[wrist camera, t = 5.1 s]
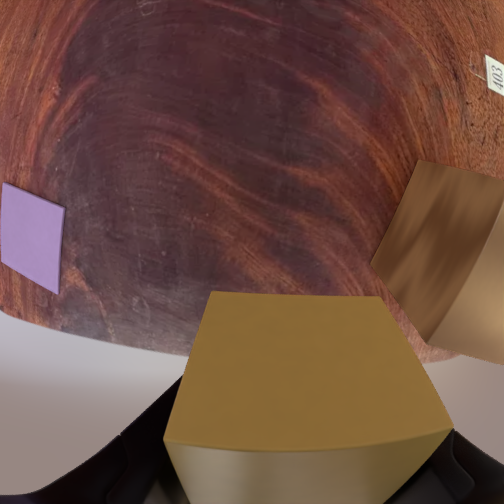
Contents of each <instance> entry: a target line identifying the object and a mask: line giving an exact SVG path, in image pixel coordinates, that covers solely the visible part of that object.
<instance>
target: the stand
mask: <svg viewBox="0 0 504 504" xmlns="http://www.w3.org/2000/svg"><path fill="white" fill-rule="evenodd" d="M370 265H371V267H372V268H373V269H374V271H375V272H376V273H377V275H378V276H379V277H380V279H381V280H382V281H383V283H384V284H385V285H386V287H387V288H388V290H389V291H390V292H391V294H392V295H393V296H394V298H395V299H396V301H397V302H398V304H399V305H400V306H401V308H402V309H403V311H404V312H405V314H406V315H407V316H408V318H409V319H410V321H411V322H412V324H413V325H414V327H415V328H416V330H417V331H418V333H419V334H420V336H421V337H422V339H423V340H424V342H425V343H426V344H427V345H430V346H434V347H437V348H441V349H444V350H448V351H451V352H455V353H458V354H462V355H466V356H469V357H473V358H477V359H481V360H484V361H488V362H492V363H496V364H500V365H504V180H501V179H498V178H494V177H491V176H487V175H484V174H480V173H476V172H472V171H468V170H464V169H460V168H456V167H452V166H447V165H443V164H438V163H433V162H428V161H423V160H418V161H417V164H416V166H415V169H414V171H413V174H412V176H411V178H410V181H409V183H408V185H407V188H406V190H405V192H404V195H403V197H402V199H401V201H400V204H399V206H398V208H397V210H396V212H395V214H394V217H393V219H392V221H391V223H390V225H389V227H388V229H387V231H386V233H385V235H384V237H383V239H382V241H381V243H380V245H379V247H378V249H377V251H376V253H375V255H374V257H373V259H372V261H371V262H370Z"/></svg>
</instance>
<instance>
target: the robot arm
mask: <svg viewBox="0 0 504 504" xmlns="http://www.w3.org/2000/svg"><path fill="white" fill-rule="evenodd" d="M182 377H183V375H182V376H181V377H180V378H179V379H178V380H177V381H176V382H175V383H174V384H173V385H172V386H171V387H170V388H169V389H168V390H166V391H165V392H164V394H162V395H161V396H160V397H159V398H158V399H157V400H156V401H155V402H154V403H153V404H152V405H151V406H149V408H147V409H146V410H145V411H144V412H143V413H142V414H141V415H140V416H139V417H137V418H136V420H134V421H133V422H132V423H131V424H130V425H129V426H128V427H126V428H125V429H124V430H123V431H122V432H121V433H120V435H121V436H120V435H118V436H116V437H115V438H114V439H113V440H112V441H111V442H110V443H108V444H107V445H106V446H105V447H104V448H102V449H101V450H100V451H99V452H97V453H96V454H95V455H94V456H92V457H91V458H89V459H88V460H86V461H85V462H84V463H82V464H81V465H79V466H78V467H76V468H75V469H73V470H72V471H70V472H68V473H67V474H65V475H64V476H62V477H60V478H59V479H57V480H55V481H54V482H52V483H51V484H49V485H47V486H45V487H43V488H41V489H39V490H37V491H34V492H31V493H27V494H20V495H0V504H190V502H189V500H188V498H187V496H186V493H185V491H184V489H183V487H182V485H181V482H180V480H179V478H178V476H177V473H176V471H175V468H174V466H173V464H172V461H171V459H170V456H169V454H168V451H167V449H166V446H165V443H164V440H163V438H164V434H165V431H166V428H167V425H168V421H169V418H170V415H171V412H172V409H173V405H174V402H175V399H176V396H177V393H178V390H179V386H180V383H181V380H182ZM383 504H504V465H503V464H501V463H500V462H498V461H497V460H495V459H494V458H492V457H490V456H489V455H488V454H486V453H485V452H483V451H482V450H480V449H479V448H477V447H476V446H475V445H474V444H472V443H471V442H470V441H468V440H467V439H466V438H465V437H463V436H462V435H461V434H460V433H459V432H457V431H455V430H454V428H453V429H452V430H451V431H450V433H449V434H448V435H447V436H446V438H445V439H444V440H443V441H442V443H441V444H440V445H439V446H438V447H437V449H436V450H435V451H434V452H433V453H432V455H431V456H430V457H429V458H428V459H427V460H426V461H425V462H424V464H423V465H422V466H421V467H420V468H419V469H418V470H417V471H416V472H415V473H414V474H413V475H412V476H411V477H410V478H409V479H408V480H407V481H406V482H405V483H404V484H403V485H402V486H401V487H400V488H399V489H398V490H397V491H396V492H395V493H394V494H393V495H392V496H391V497H390V498H389V499H387V500H386V501H385V502H384V503H383Z"/></svg>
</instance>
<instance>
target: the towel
mask: <svg viewBox="0 0 504 504" xmlns="http://www.w3.org/2000/svg"><path fill="white" fill-rule="evenodd" d="M65 209H66V208H65V207H63V206H60V205H58V204H56V203H53V202H51V201H48V200H46V199H44V198H41V197H39V196H37V195H34V194H32V193H30V192H27V191H25V190H23V189H20V188H18V187H16V186H13V185H11V184H9V183H6V182H3V187H2V202H1V261H2V262H3V263H4V264H6V265H8V266H9V267H11V268H12V269H14V270H16V271H17V272H19V273H21V274H22V275H24V276H26V277H27V278H29V279H31V280H32V281H34V282H36V283H38V284H39V285H41V286H43V287H45V288H46V289H48V290H50V291H52V292H54V293H56V294H57V295H58V294H59V293H60V262H61V247H62V235H63V226H64V217H65Z"/></svg>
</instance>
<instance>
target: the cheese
mask: <svg viewBox="0 0 504 504" xmlns="http://www.w3.org/2000/svg"><path fill="white" fill-rule="evenodd" d="M453 427H454V424H453V422H452V420H451V419H450V417H449V414H448V413H447V410H446V409H445V406H444V405H443V403H442V401H441V399H440V397H439V395H438V393H437V391H436V389H435V388H434V386H433V384H432V382H431V380H430V378H429V377H428V375H427V373H426V371H425V370H424V368H423V366H422V364H421V362H420V361H419V359H418V357H417V355H416V354H415V352H414V350H413V349H412V347H411V345H410V344H409V342H408V340H407V339H406V337H405V335H404V334H403V332H402V330H401V329H400V327H399V325H398V324H397V322H396V321H395V319H394V317H393V316H392V314H391V313H390V311H389V310H388V308H387V306H386V305H385V303H384V302H383V300H382V299H381V297H379V296H319V295H285V294H260V293H239V292H221V291H212V292H211V293H210V296H209V299H208V302H207V305H206V308H205V311H204V314H203V317H202V320H201V323H200V326H199V329H198V332H197V335H196V338H195V341H194V344H193V347H192V350H191V353H190V356H189V359H188V362H187V365H186V368H185V371H184V374H183V377H182V380H181V383H180V386H179V390H178V393H177V396H176V399H175V402H174V405H173V409H172V412H171V415H170V418H169V421H168V425H167V428H166V431H165V434H164V438H163V440H164V443H165V446H166V449H167V451H168V454H169V456H170V459H171V461H172V464H173V466H174V468H175V471H176V473H177V476H178V478H179V480H180V482H181V485H182V487H183V489H184V491H185V493H186V496H187V498H188V500H189V502H190V504H383V503H384V502H385V501H386V500H387V499H389V498H390V497H391V496H392V495H393V494H394V493H395V492H396V491H397V490H398V489H399V488H400V487H401V486H402V485H403V484H404V483H405V482H406V481H407V480H408V479H409V478H410V477H411V476H412V475H413V474H414V473H415V472H416V471H417V470H418V469H419V468H420V467H421V466H422V465H423V464H424V462H425V461H426V460H427V459H428V458H429V457H430V456H431V455H432V453H433V452H434V451H435V450H436V449H437V447H438V446H439V445H440V444H441V443H442V441H443V440H444V439H445V438H446V436H447V435H448V434H449V433H450V431H451V430H452V429H453Z"/></svg>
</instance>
